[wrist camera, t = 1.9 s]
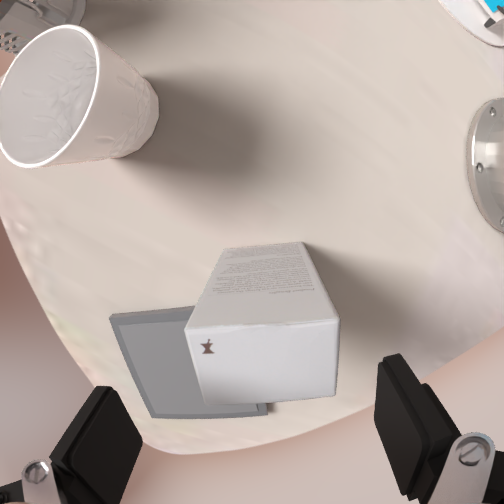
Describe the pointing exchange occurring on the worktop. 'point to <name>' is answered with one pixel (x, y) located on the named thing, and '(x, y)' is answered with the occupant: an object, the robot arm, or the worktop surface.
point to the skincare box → (264, 329)
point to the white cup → (73, 102)
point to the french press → (35, 19)
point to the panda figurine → (479, 18)
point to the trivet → (168, 366)
